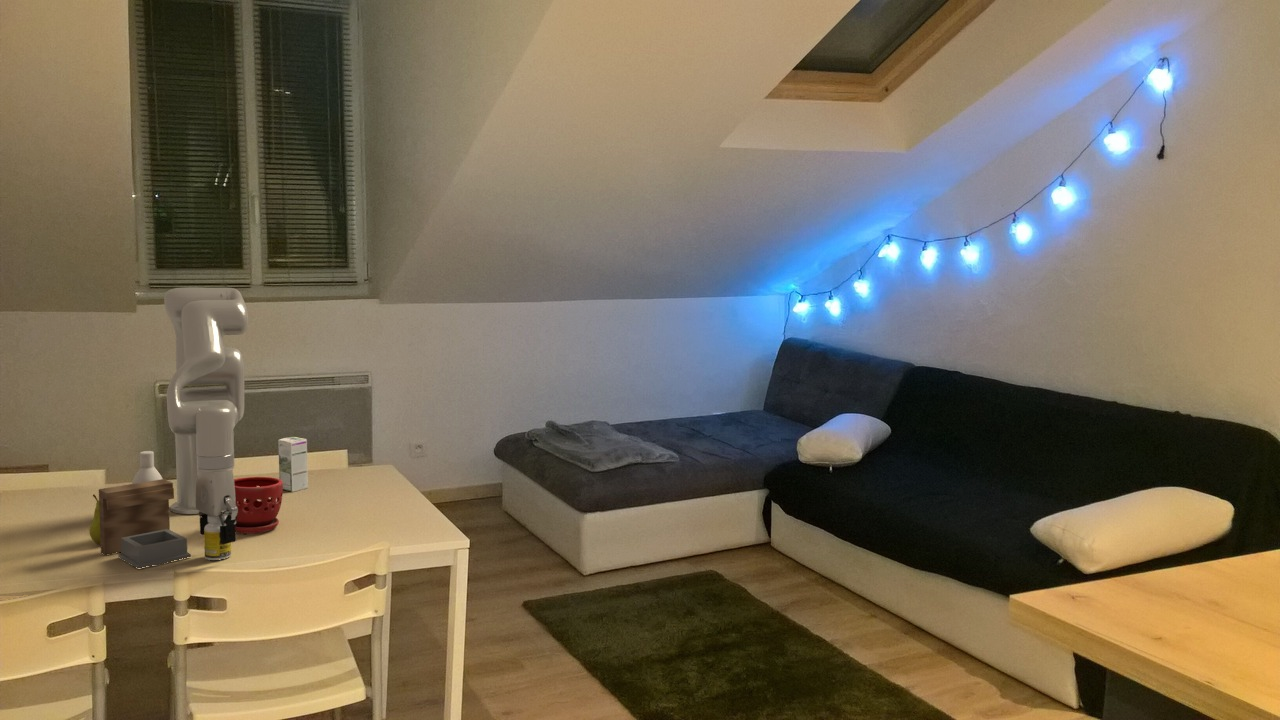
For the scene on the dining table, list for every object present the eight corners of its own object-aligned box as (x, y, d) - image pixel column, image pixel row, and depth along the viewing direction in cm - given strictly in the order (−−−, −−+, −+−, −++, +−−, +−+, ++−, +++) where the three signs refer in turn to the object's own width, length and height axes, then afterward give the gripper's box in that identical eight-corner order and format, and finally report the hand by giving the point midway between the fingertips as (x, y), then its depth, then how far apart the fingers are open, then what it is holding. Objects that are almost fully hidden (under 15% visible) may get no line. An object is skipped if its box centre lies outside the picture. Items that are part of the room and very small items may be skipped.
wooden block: (165, 540, 227) (163, 478, 226) (175, 545, 224) (173, 483, 222) (101, 553, 217) (98, 489, 215) (110, 558, 213) (107, 493, 212)
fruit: (123, 540, 227) (121, 489, 225) (110, 547, 221) (108, 496, 219) (98, 539, 226) (95, 489, 225) (84, 547, 221) (82, 495, 219)
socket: (169, 547, 222) (169, 527, 222) (190, 558, 215) (190, 538, 215) (118, 557, 214) (117, 537, 214) (138, 569, 207) (137, 549, 206)
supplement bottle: (221, 562, 213) (220, 518, 212) (199, 560, 214) (198, 516, 213) (236, 554, 218) (235, 512, 217) (214, 552, 219) (213, 510, 218)
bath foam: (129, 539, 227) (126, 455, 225) (137, 531, 234) (134, 449, 231) (161, 538, 228) (158, 454, 226) (168, 530, 235) (166, 448, 233)
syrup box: (308, 488, 277) (308, 438, 276) (291, 492, 272) (290, 441, 271) (295, 485, 280) (294, 435, 279) (278, 489, 275) (277, 439, 274)
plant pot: (277, 536, 233) (276, 487, 231) (219, 537, 230) (218, 488, 229) (288, 520, 245) (287, 474, 244) (233, 521, 243) (232, 474, 242)
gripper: (181, 458, 216) (183, 533, 218) (216, 470, 205) (218, 550, 207) (214, 453, 222) (216, 527, 224) (251, 465, 211) (252, 542, 212)
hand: (217, 538), depth 215 cm, fingers open, 9 cm apart
